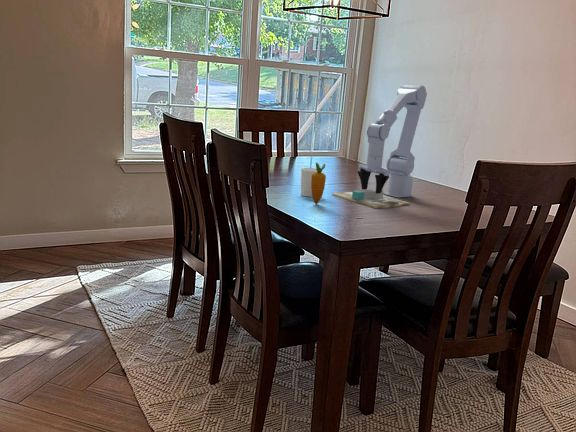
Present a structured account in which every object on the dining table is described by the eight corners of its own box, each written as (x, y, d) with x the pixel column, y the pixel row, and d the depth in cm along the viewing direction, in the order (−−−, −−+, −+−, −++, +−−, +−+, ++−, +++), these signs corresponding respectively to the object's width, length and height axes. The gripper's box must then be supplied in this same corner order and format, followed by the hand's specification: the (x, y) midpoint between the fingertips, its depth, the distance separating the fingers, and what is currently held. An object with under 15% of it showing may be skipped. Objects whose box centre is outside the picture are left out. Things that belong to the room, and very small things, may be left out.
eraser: (378, 195, 208) (379, 188, 207) (384, 197, 206) (385, 190, 205) (351, 198, 200) (352, 190, 199) (357, 200, 197) (358, 192, 197)
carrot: (322, 203, 192) (326, 162, 188) (324, 206, 187) (327, 164, 183) (308, 202, 191) (312, 161, 188) (309, 205, 186) (313, 163, 183)
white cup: (302, 197, 200) (304, 170, 197) (296, 192, 207) (298, 167, 205) (322, 197, 202) (324, 171, 200) (315, 193, 209) (318, 168, 207)
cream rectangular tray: (365, 192, 218) (365, 188, 218) (410, 205, 200) (410, 200, 199) (332, 195, 208) (332, 190, 207) (376, 208, 189) (376, 203, 189)
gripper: (354, 153, 203) (350, 188, 206) (381, 159, 192) (377, 195, 195) (367, 153, 207) (363, 187, 210) (395, 158, 196) (390, 194, 199)
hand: (371, 191), depth 203 cm, fingers open, 7 cm apart
